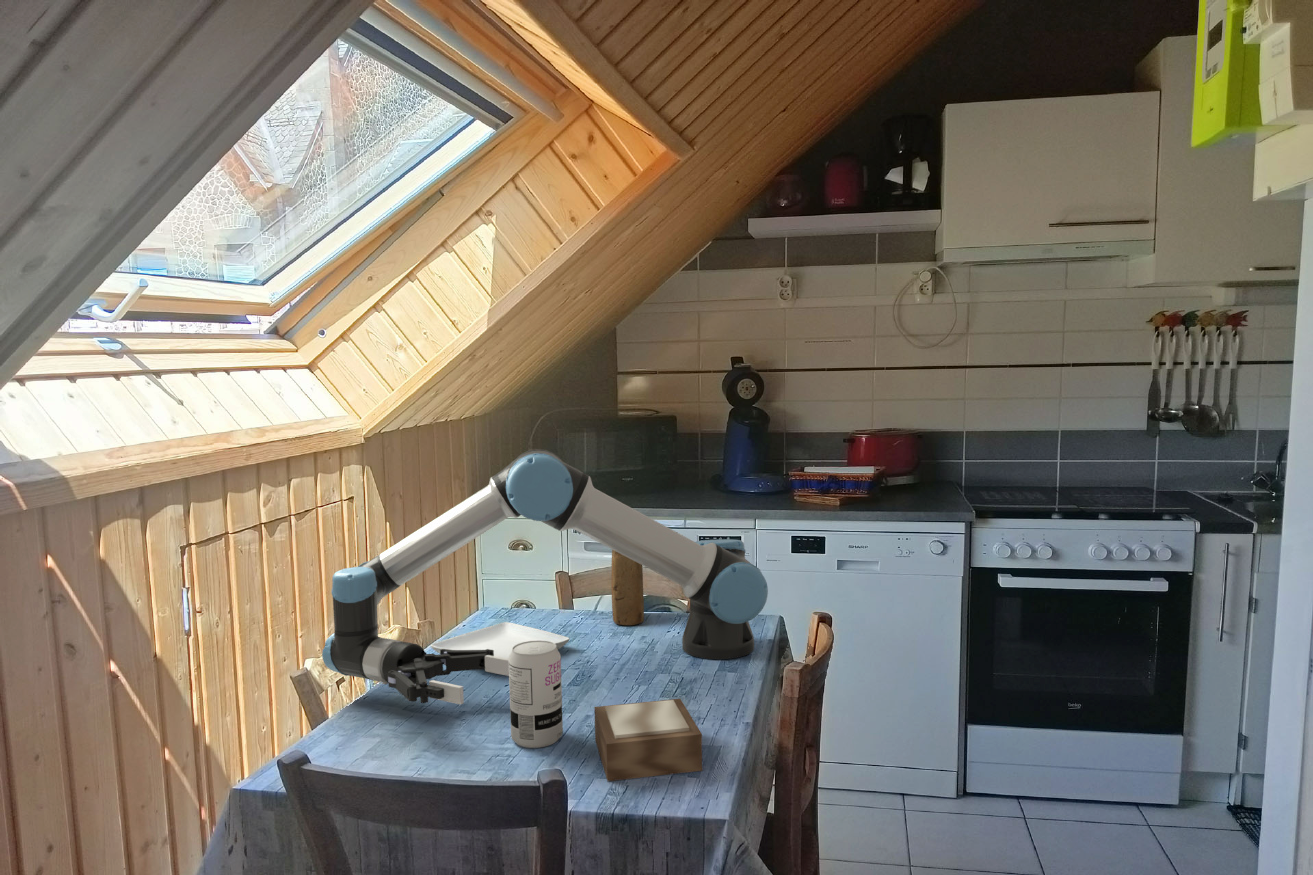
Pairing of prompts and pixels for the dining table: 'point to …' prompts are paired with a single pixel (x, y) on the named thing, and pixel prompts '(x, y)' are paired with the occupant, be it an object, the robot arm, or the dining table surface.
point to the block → (626, 590)
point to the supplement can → (535, 694)
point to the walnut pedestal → (647, 739)
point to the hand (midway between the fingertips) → (490, 681)
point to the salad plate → (499, 639)
